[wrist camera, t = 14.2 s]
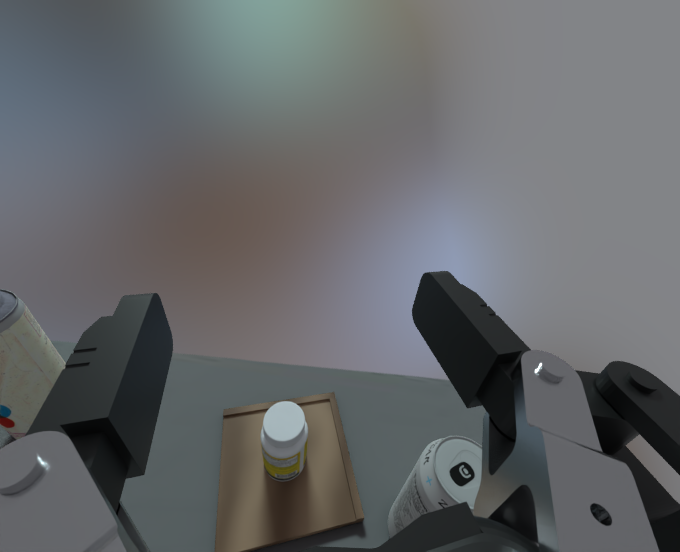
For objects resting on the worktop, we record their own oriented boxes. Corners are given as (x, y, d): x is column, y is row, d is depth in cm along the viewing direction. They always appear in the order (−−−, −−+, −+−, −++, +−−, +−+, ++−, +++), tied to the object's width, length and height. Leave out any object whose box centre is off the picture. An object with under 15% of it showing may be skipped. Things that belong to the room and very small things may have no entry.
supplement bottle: (285, 428, 37) (284, 388, 32) (315, 455, 35) (319, 416, 30) (253, 462, 34) (248, 423, 29) (285, 493, 32) (284, 457, 27)
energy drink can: (458, 550, 30) (531, 493, 21) (410, 589, 27) (469, 543, 19) (419, 486, 34) (466, 416, 25) (374, 515, 32) (408, 448, 23)
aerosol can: (3, 428, 35) (-147, 293, 23) (69, 382, 40) (-25, 252, 28) (39, 459, 33) (-105, 328, 21) (104, 407, 38) (19, 277, 26)
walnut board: (215, 560, 28) (213, 557, 27) (224, 414, 38) (223, 409, 38) (362, 521, 31) (364, 517, 30) (333, 396, 42) (334, 392, 41)
